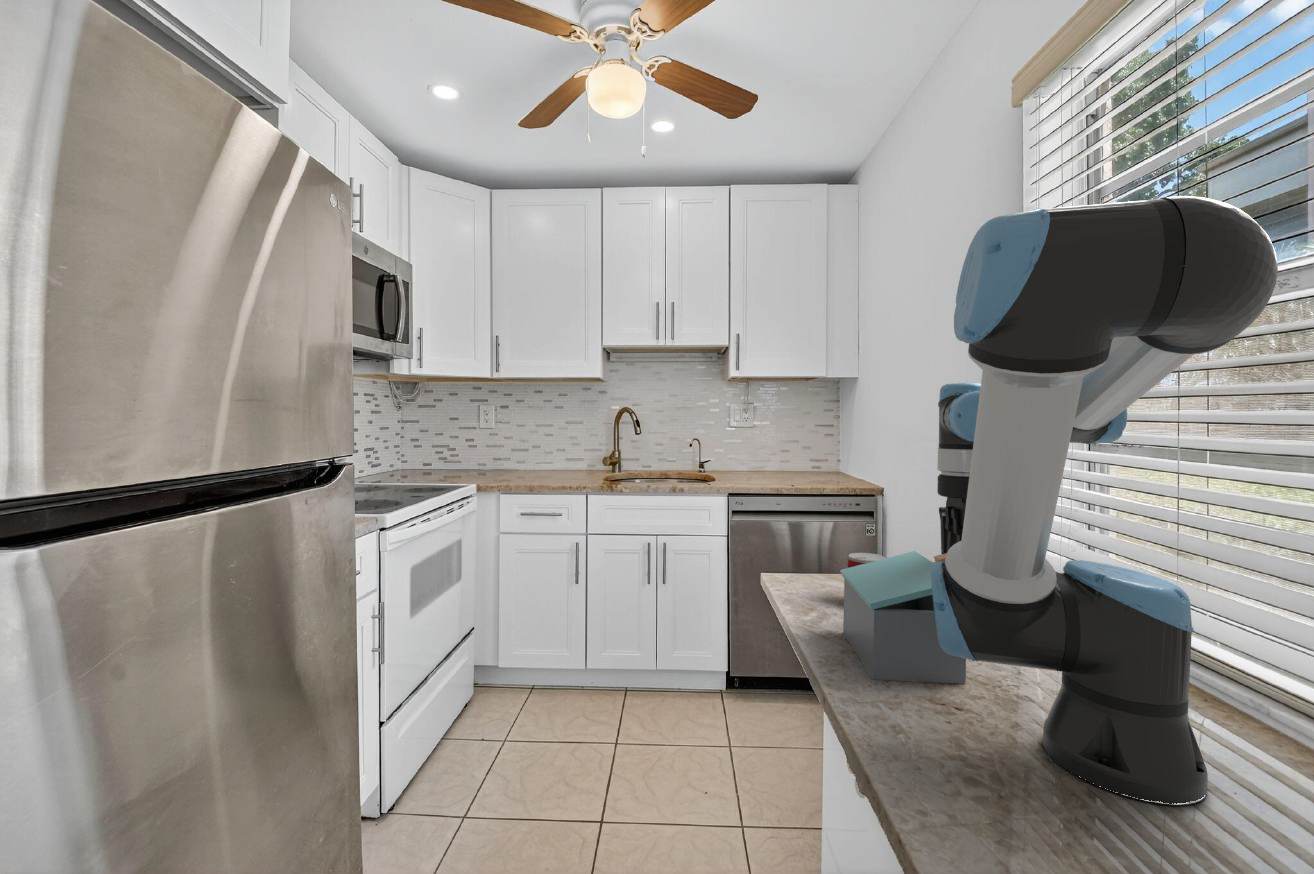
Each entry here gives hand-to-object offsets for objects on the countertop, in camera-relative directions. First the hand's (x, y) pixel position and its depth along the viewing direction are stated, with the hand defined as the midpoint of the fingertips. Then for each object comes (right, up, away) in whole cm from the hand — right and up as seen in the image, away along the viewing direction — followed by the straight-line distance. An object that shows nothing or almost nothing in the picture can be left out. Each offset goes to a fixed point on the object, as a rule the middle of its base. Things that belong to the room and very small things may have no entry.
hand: (959, 609), depth 98 cm
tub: (-10, -8, +1) cm, 13 cm away
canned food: (-6, -8, +29) cm, 30 cm away
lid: (-6, -1, +1) cm, 6 cm away
